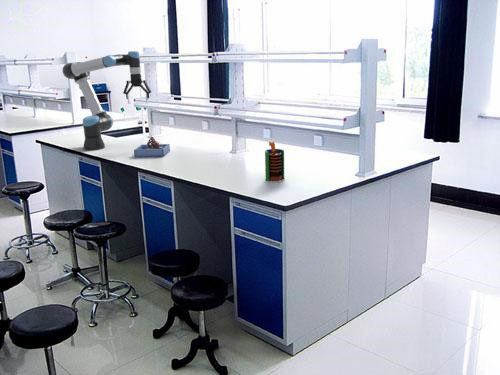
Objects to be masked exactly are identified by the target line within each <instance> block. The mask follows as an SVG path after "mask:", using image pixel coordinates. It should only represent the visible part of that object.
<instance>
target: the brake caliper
mask: <svg viewBox="0 0 500 375" xmlns="http://www.w3.org/2000/svg"><path fill="white" fill-rule="evenodd" d="M150 144H151V146H150ZM146 145H147V148H145V149H163V147H159V146H160V142H159V141H157V140H156V139H155V137H153V136H150V138H149V140H148V141H147V142H146Z"/></svg>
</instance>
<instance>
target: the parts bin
mask: <svg viewBox="0 0 500 375" xmlns="http://www.w3.org/2000/svg"><path fill="white" fill-rule="evenodd" d="M159 144H160V143H159ZM150 146H151V143H150ZM159 147H163V149H145V148H147V144H141V145H139V146H137V147H136V148H135V149H133V155H134V158H159V157H161V158H162V157H166V155H167V154H169V153H170V152H171V146H170V143H161V144H160V146H159Z"/></svg>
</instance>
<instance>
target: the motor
mask: <svg viewBox="0 0 500 375" xmlns="http://www.w3.org/2000/svg"><path fill="white" fill-rule="evenodd" d="M268 146H269V147H270V148H268V149H265V150H264V161H265V162H264V164H265V165H264V166H265V167H264V168H265V169H264V171H265V172H264V173H265V181H267V182H269V181H271V182H279V181H281V180H283V179H285V150H284V149H282V148H276V144H275V141H269V142H268Z"/></svg>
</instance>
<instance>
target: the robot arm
mask: <svg viewBox="0 0 500 375" xmlns="http://www.w3.org/2000/svg"><path fill="white" fill-rule="evenodd" d="M140 58H141V57H140V52H139V51H137V50H136V51H135V50H132V51H131V50H130V51H128V52H127V54H123V53H122V54H119V53H118V54H113V55H112V54H108V55H105V56H103V57H98V58H94V59H90V60H85V61H76V62H68V63H66V64H64V65H63V67H62V74H63V76H64V77H65V78H67V79H69V80H73V81H74V83H75V84H77V85H78V86H79V88H80V91H81V92H82V96H83V97H84V99H85V102H86V104H87V106H88V108H89V110H90V112H91V115H87V116H85V117H84V118H83V119H82V126H83V132H84V133H83V134H84V142H83V150H85V151H95V150H102V149H104V148H106V145H105V142H104V140H103V138H102V132H106V131H109V130H110V129H111V128H112V127H113V125H114V120H113V119H114V118H113V117H112V116H111V115H110V114H108V113H107V110H105V109H103V107H102V105H101V103H100V100H99V99H98V96H97V94H96V91H95V89H94V87H93V85H92V83H91V81H90V79H91V75H90V74H91V72H94V71H95V72H96V71H98V70H99V71H100V70H102V69H107V68H111V67H118V66H129V74H130V75H129V76H130V80H129V79H128V80H126V84H125V86H124V89H123V93H122V94H124V95H125V97H126V100H127V104H128V105H129V104H131V99H130V98H131V96H130V94H129V93H130V92H131V91H132V90H133V88H134V87H137V88H138V87H139V88H141V89H142V90H143V91H144V92H145V102H146V104H148V103H149V99H150V94H151V93H152V90H151V88H150V86H149V85H148V83H147V80H146V79H144V80H143V79H142V74H141V73H142V71H141V62H140ZM142 83H143V84H144V85H143V84H142ZM129 86H130V87H129ZM128 87H129V88H128Z"/></svg>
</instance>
